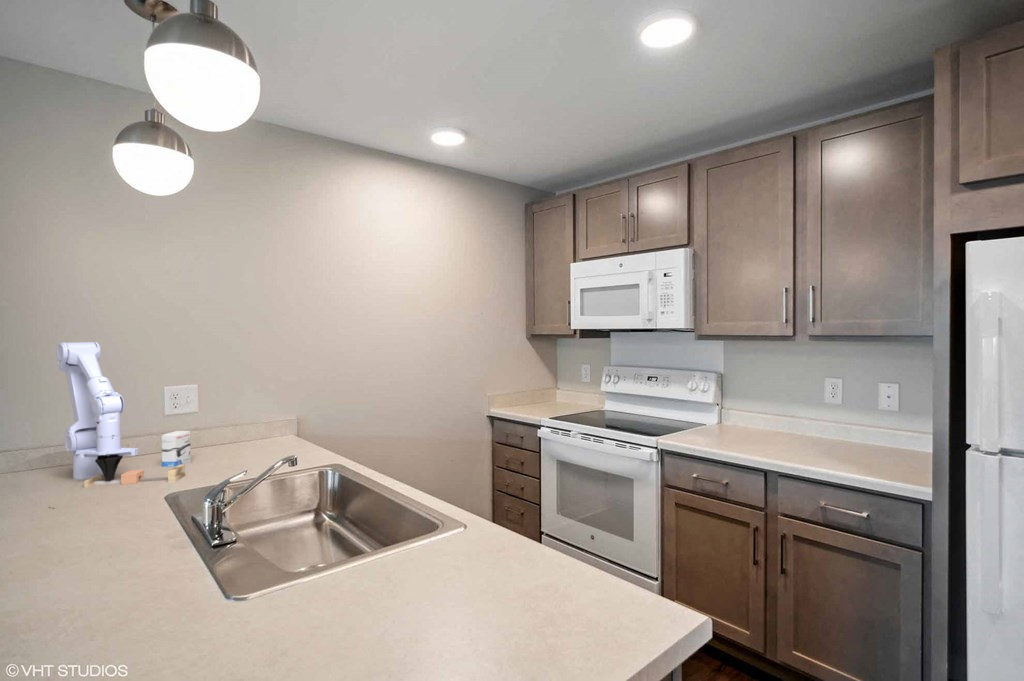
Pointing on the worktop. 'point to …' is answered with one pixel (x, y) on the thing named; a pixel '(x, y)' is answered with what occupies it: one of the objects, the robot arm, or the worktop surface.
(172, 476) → the rail board
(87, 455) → the robot arm
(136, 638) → the worktop surface
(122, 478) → the block
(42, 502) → the worktop surface
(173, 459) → the ink box
